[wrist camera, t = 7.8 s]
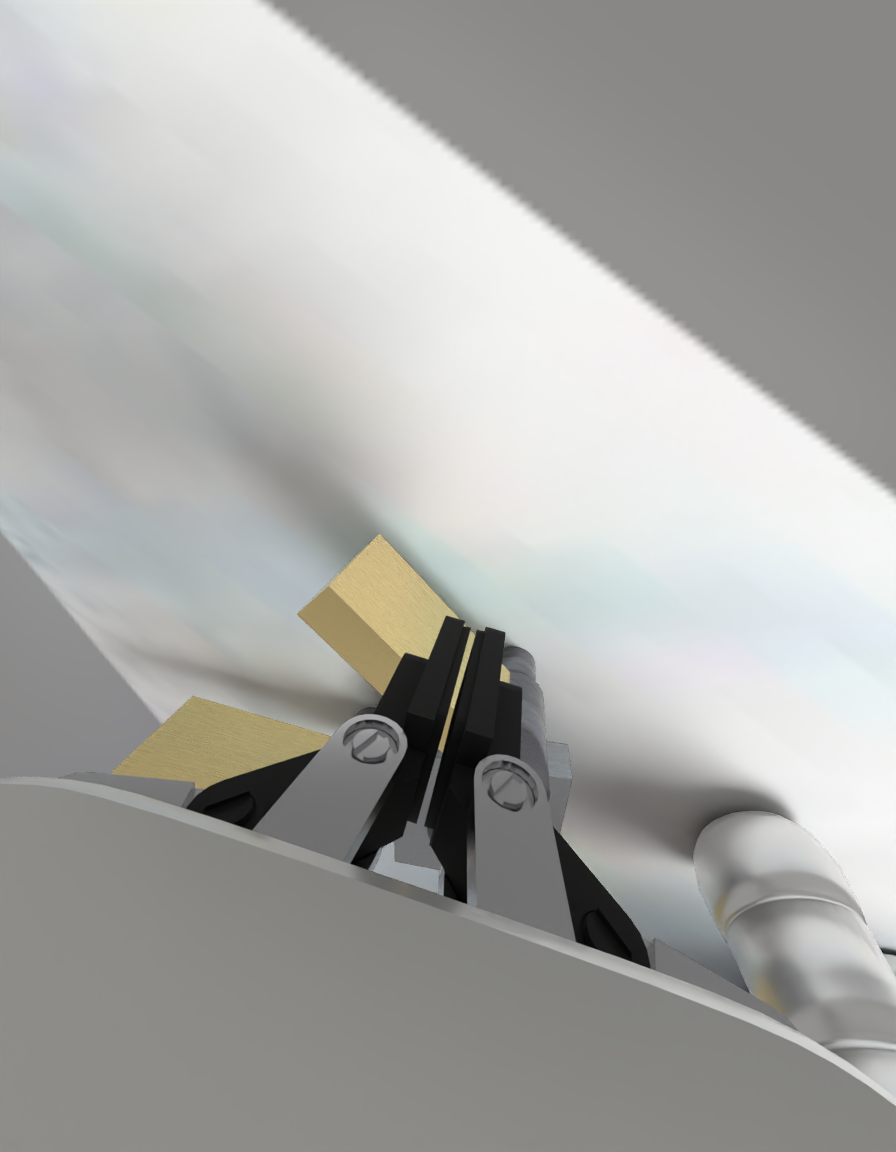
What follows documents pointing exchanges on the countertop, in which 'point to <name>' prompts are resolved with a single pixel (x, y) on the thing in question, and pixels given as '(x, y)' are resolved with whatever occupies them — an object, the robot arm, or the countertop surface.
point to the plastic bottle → (800, 936)
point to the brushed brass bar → (410, 635)
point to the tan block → (217, 744)
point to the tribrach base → (416, 836)
